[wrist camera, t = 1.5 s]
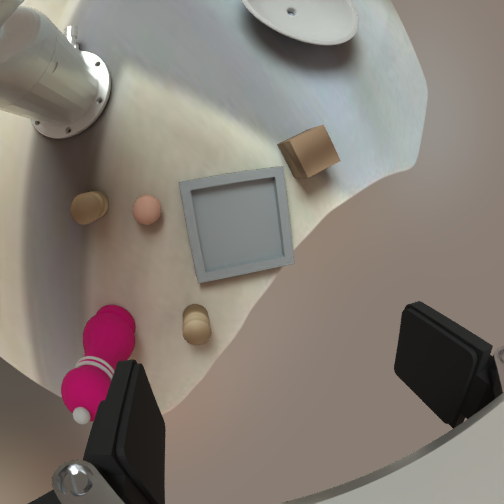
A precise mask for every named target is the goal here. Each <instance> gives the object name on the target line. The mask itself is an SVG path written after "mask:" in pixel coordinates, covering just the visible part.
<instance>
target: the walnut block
mask: <svg viewBox="0 0 504 504" xmlns="http://www.w3.org/2000/svg"><path fill="white" fill-rule="evenodd" d="M277 145H278V147H279V149H280V150H281V152H282V154H283V156H284V158H285V160H286V162H287V164H288V166H289V168H290V170H291V172H292V174H293V176H294V177H298V178H309V177H311V176H313V175H315V174H317V173H319V172H320V171H322V170H324V169H326V168H328V167H330V166H332V165H334V164H335V163H337V162H339V161H340V159H339V157H338V154H337V152H336V150H335V148H334V146H333V143H332V141H331V139H330V137H329V135H328V133H327V131H326V129H325V127H324V125H321V126H318V127H315V128H311V129H308V130H306V131H304V132H302V133H300V134H298V135H296V136H293V137H291V138H289V139H287V140H285V141H283V142H281V143H279V144H277Z"/></svg>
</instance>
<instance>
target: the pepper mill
mask: <svg viewBox="0 0 504 504" xmlns="http://www.w3.org/2000/svg"><path fill="white" fill-rule="evenodd" d="M134 332H135V322H134V319H133V317H132V316H131V314H130V313H129V312H128V311H127V310H126V309H124V308H122V307H120V306H117V305H106V306H104V307H102V308H101V309H99V311H98V312H97V314H96V315H95V316H93V317H92V318H91V319H90V320H89V321H88V322H87V324H86V327H85V329H84V333H83V346H84V350H85V356H84V357H82V358H80V359H79V360H78V361H77V362H76V365H75V367H74V369H73V370H71V371H69V372H68V373H67V374H66V376H65V377H64V379H63V382H62V387H61V394H62V398H63V401H64V403H65V405H66V407H67V408H68V409H69V411H71V412H72V413H73V418H74V420H75V421H76V422H77V423H79V424H82V425H83V424H87V423H88V422H89V421H94V419H95V415H96V412H97V409H98V406H99V404H100V402H101V401H102V400H105V399H106V396H107V393H108V390H109V386H110V383H111V380H112V377H113V374H114V371H115V368H116V365H117V363H118V361H125V360H127V359H128V358H129V357H130V355H131V354H132V351H133V349H134V346H135V337H134Z"/></svg>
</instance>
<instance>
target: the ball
mask: <svg viewBox="0 0 504 504" xmlns="http://www.w3.org/2000/svg"><path fill="white" fill-rule="evenodd" d="M160 214H161V204H160V202H159V201H158V199H157V198H155V197H154V196H151V195H144V196H141V197H139V198H138V199H137V200H136V201H135V203H134V205H133V215H134V217H135V219H136V220H137V221H138V222H140V223H142V224H152V223H154V222H155V221H156V220H157V219H158V218H159V217H160Z"/></svg>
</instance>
